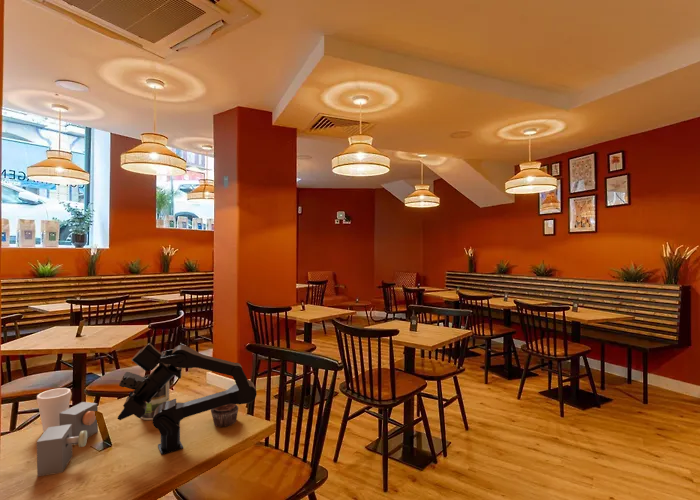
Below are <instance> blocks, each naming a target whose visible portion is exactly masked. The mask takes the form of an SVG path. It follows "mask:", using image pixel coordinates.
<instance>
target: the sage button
mask: <svg viewBox="0 0 700 500" xmlns="http://www.w3.org/2000/svg"><path fill="white" fill-rule="evenodd" d="M87 440H88V438H87V431H86V430H85V431H81V432H80V434H79V436H75V437H68V438H65V441H66V444H71V443H78V444H77V445H78V447H79V448H83V447H85V446H86V445H87V443H88V442H87Z"/></svg>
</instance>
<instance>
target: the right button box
mask: <svg viewBox="0 0 700 500" xmlns="http://www.w3.org/2000/svg"><path fill="white" fill-rule="evenodd" d="M98 408H99V407H98V403H96V402H87V401H81V402H79V403H77V404H75V405H73V406H72V407H69V409H67V410H65V411H63V412H61V413H59V420H60V426H61V425H69V424H72V437H75V436H79V434H80V432H81V431H85V430H86V431H87V439H88V438H90V437H91V436H93V435H95V434H96V433H98V432H99V423H98V424H97V420H96V419H95V421H94V422H93V423H92V424H91V425H84V424H83V422H82V419H83V415H84V414H85V413H86V412H87V411H99V410H98ZM77 445H78V443H72V446H77Z"/></svg>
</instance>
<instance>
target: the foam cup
mask: <svg viewBox="0 0 700 500" xmlns="http://www.w3.org/2000/svg"><path fill="white" fill-rule="evenodd" d="M71 391H72V390H71V389H70V388H67V387H58V388H53V389H48V390H45V391H43V392H40V393H38V394H37V395H36V403H37V405H38V411H39V415H40V420H41V421H40V422H41V426H42V431H43V433H44V432H45V431H46V430H47V428H48V427H54V426H60V420H59V413H61V412H63V411H65V410H67V409H69V408H70V401H71V397H72V395H71V393H72V392H71Z"/></svg>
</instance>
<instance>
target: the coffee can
mask: <svg viewBox="0 0 700 500" xmlns="http://www.w3.org/2000/svg"><path fill="white" fill-rule="evenodd" d="M145 376H146V375H143V377H145ZM167 401H170V380H169V381H168V382H167V383H166V384H165V385H164V386H163V387H162V389H161V391H160V392H159V393H157V394H156V395H155V396H154V397H153V398H152V400H151V401H150V402H149V403H147V402H146V401H145V402H146V404H147V409H146V412H145V414H144V415H143V416H142V417H141V418H140V419H141V420H144V421H153V417H154V412H155V410H156V408H157V407H158V406H159V405H161V404H163V402H167Z"/></svg>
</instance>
